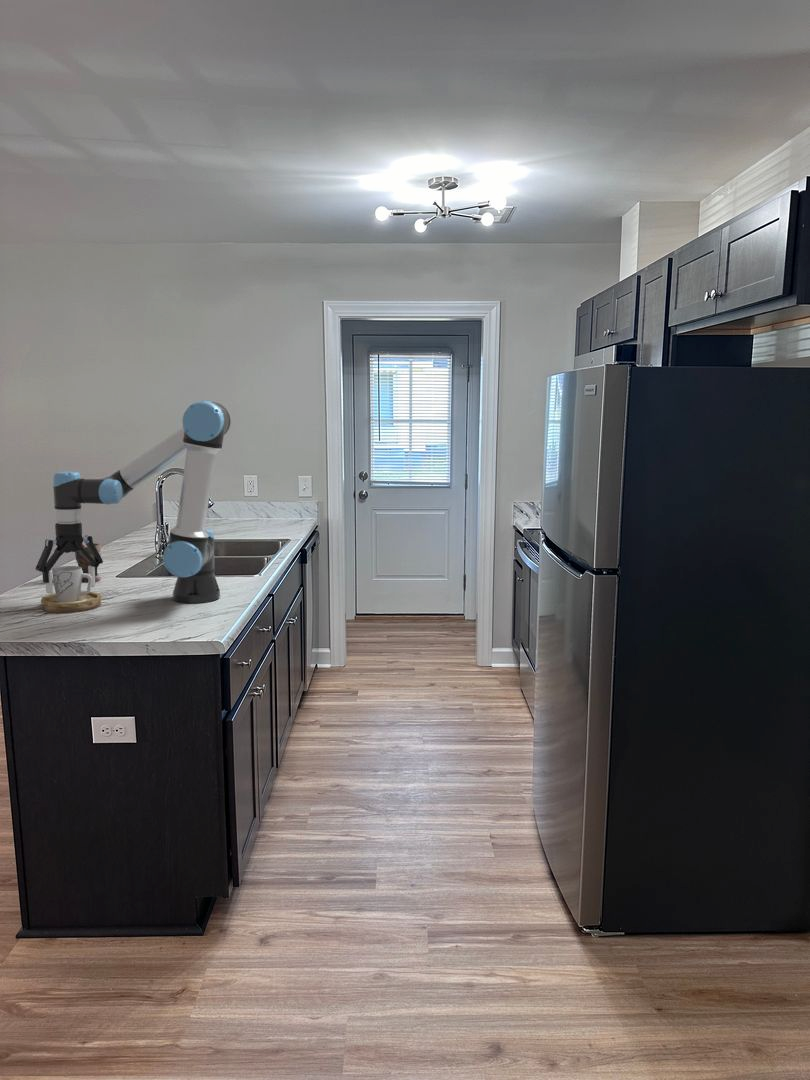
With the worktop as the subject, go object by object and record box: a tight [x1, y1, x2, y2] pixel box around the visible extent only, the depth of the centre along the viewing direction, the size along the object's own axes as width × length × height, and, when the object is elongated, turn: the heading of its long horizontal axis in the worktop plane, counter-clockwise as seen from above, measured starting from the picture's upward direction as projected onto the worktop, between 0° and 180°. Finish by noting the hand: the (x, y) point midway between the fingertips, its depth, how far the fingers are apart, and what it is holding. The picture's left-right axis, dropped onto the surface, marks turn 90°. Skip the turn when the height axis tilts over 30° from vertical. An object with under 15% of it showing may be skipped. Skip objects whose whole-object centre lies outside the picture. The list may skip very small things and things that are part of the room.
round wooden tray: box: [40, 591, 102, 614], centre depth 238 cm, size 17×17×3 cm
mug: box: [51, 565, 92, 602], centre depth 237 cm, size 11×8×10 cm
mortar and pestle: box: [74, 541, 102, 583], centre depth 272 cm, size 12×9×20 cm
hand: (71, 589), depth 237 cm, fingers open, 13 cm apart
